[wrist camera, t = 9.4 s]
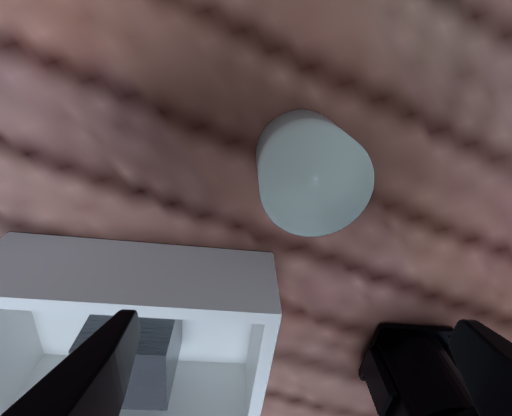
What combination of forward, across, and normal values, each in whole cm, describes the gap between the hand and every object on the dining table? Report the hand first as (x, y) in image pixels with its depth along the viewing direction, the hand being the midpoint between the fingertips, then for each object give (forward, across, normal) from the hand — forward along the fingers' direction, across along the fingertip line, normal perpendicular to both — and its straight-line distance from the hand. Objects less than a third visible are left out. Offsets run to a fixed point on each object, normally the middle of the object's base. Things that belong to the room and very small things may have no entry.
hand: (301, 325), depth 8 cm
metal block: (+10, +8, +10) cm, 17 cm away
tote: (+11, +8, +10) cm, 17 cm away
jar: (+11, -2, -2) cm, 11 cm away
